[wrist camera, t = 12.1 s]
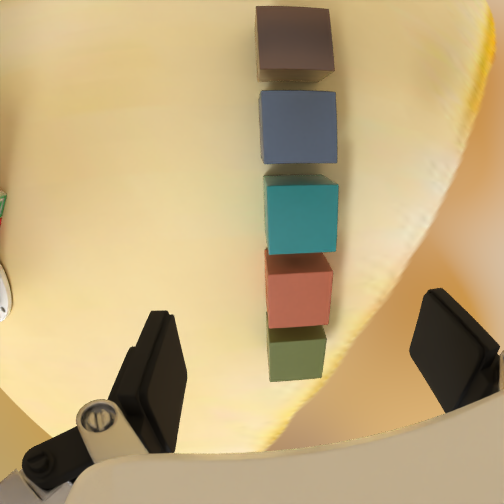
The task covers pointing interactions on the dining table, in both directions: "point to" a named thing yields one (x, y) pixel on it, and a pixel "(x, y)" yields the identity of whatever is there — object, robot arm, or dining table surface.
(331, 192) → the teal cube
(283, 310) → the terracotta cube
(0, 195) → the stack of blocks
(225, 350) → the dining table surface
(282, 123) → the slate cube
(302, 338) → the olive cube
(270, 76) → the walnut cube
